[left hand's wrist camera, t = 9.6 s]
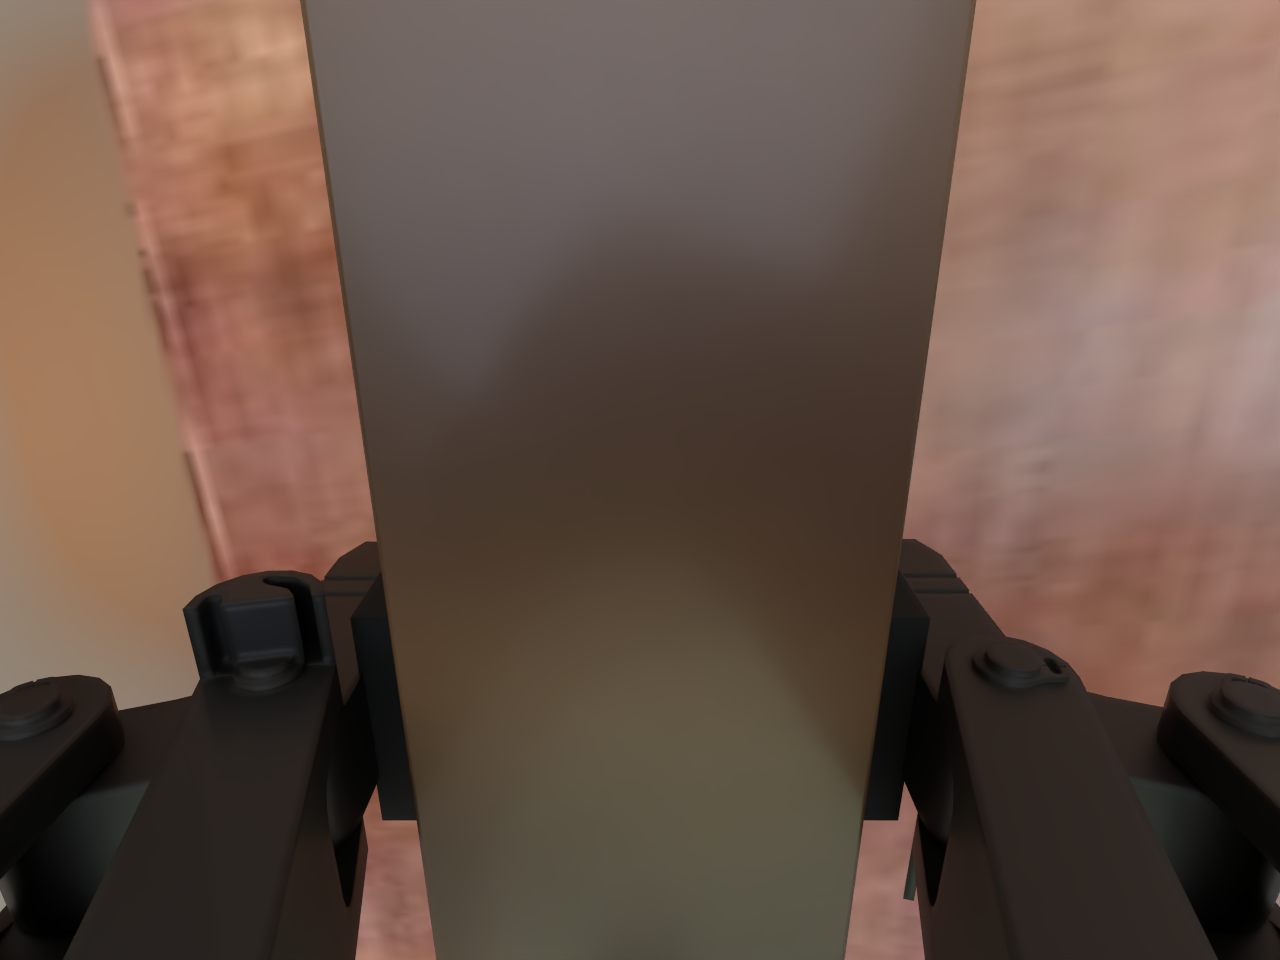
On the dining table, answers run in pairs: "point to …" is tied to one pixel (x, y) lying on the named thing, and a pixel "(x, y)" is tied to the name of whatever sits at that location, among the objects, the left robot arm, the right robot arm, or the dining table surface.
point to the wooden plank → (639, 440)
